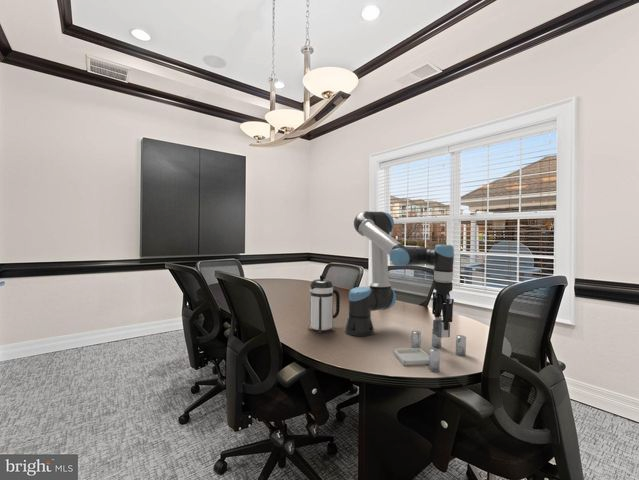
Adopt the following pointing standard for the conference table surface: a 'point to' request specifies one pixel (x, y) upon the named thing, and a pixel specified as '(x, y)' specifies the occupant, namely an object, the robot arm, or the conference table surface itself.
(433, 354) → the cylinder
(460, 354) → the cylinder
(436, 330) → the slate cube
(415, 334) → the spacer
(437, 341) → the cylinder
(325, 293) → the coffee press
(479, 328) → the conference table surface
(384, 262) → the robot arm
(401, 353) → the tray
